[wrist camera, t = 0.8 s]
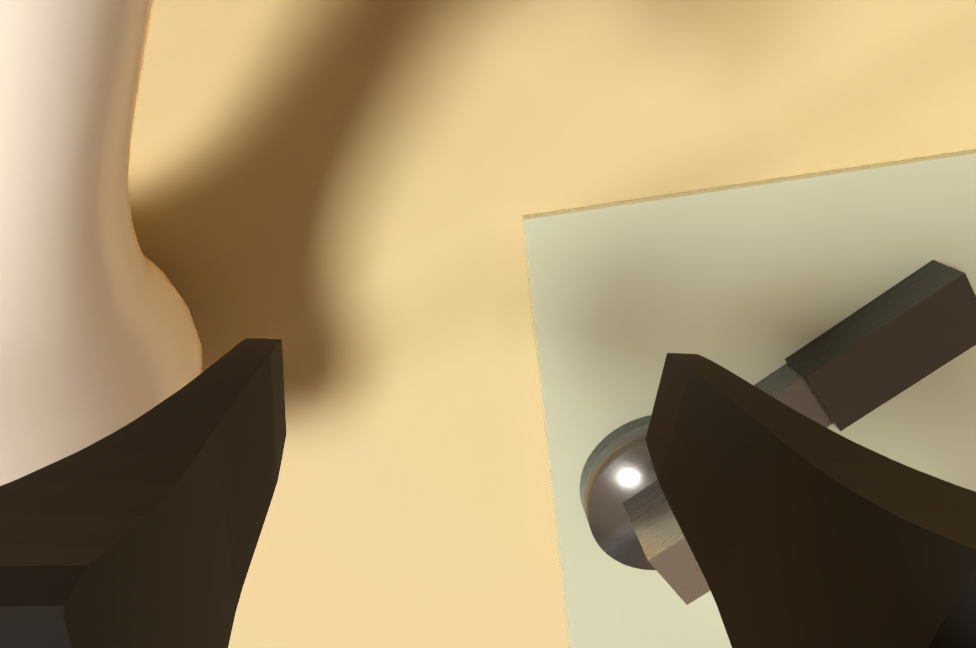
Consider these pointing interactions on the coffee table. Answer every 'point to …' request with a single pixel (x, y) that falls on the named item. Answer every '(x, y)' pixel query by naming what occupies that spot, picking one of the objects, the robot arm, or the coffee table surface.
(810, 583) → the robot arm
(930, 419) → the mat
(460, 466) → the coffee table surface
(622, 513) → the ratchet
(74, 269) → the flower vase
